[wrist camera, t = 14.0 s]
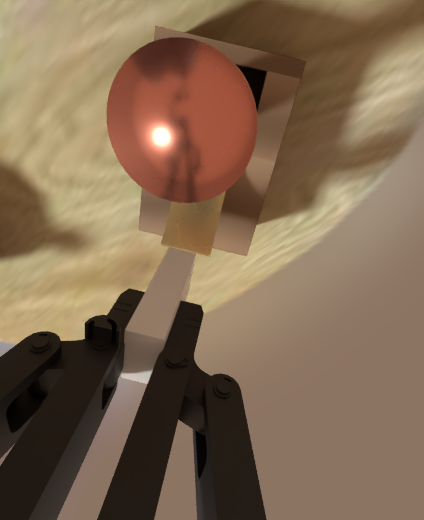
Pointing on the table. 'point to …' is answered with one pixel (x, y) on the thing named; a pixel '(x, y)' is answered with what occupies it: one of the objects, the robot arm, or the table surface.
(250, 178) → the block
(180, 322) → the robot arm
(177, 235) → the golden rectangular bar
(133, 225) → the table surface
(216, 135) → the red-capped peg
